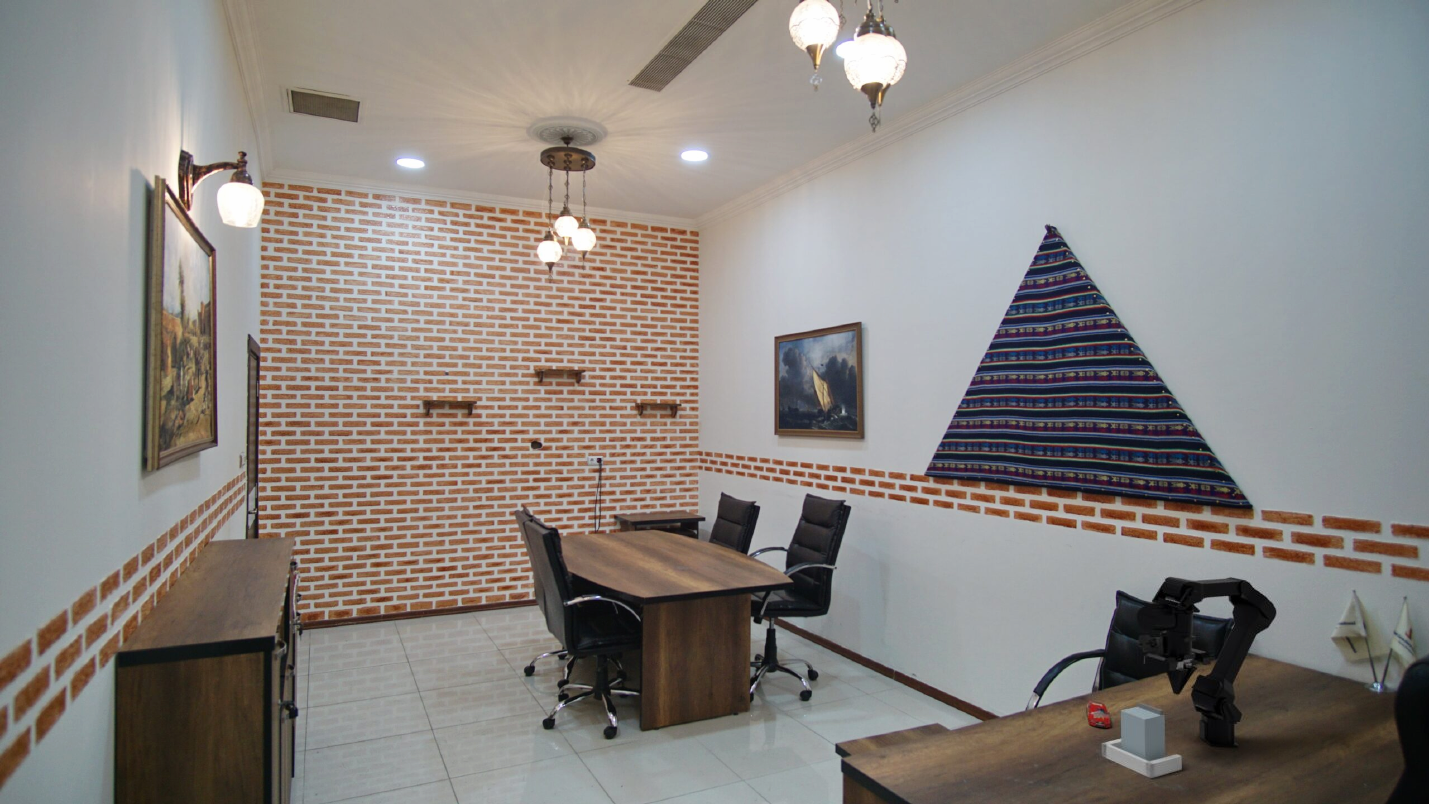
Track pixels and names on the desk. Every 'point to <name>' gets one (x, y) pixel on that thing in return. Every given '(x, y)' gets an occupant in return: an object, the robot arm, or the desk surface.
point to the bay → (1141, 760)
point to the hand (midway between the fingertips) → (1176, 694)
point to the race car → (1097, 714)
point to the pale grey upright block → (1143, 732)
